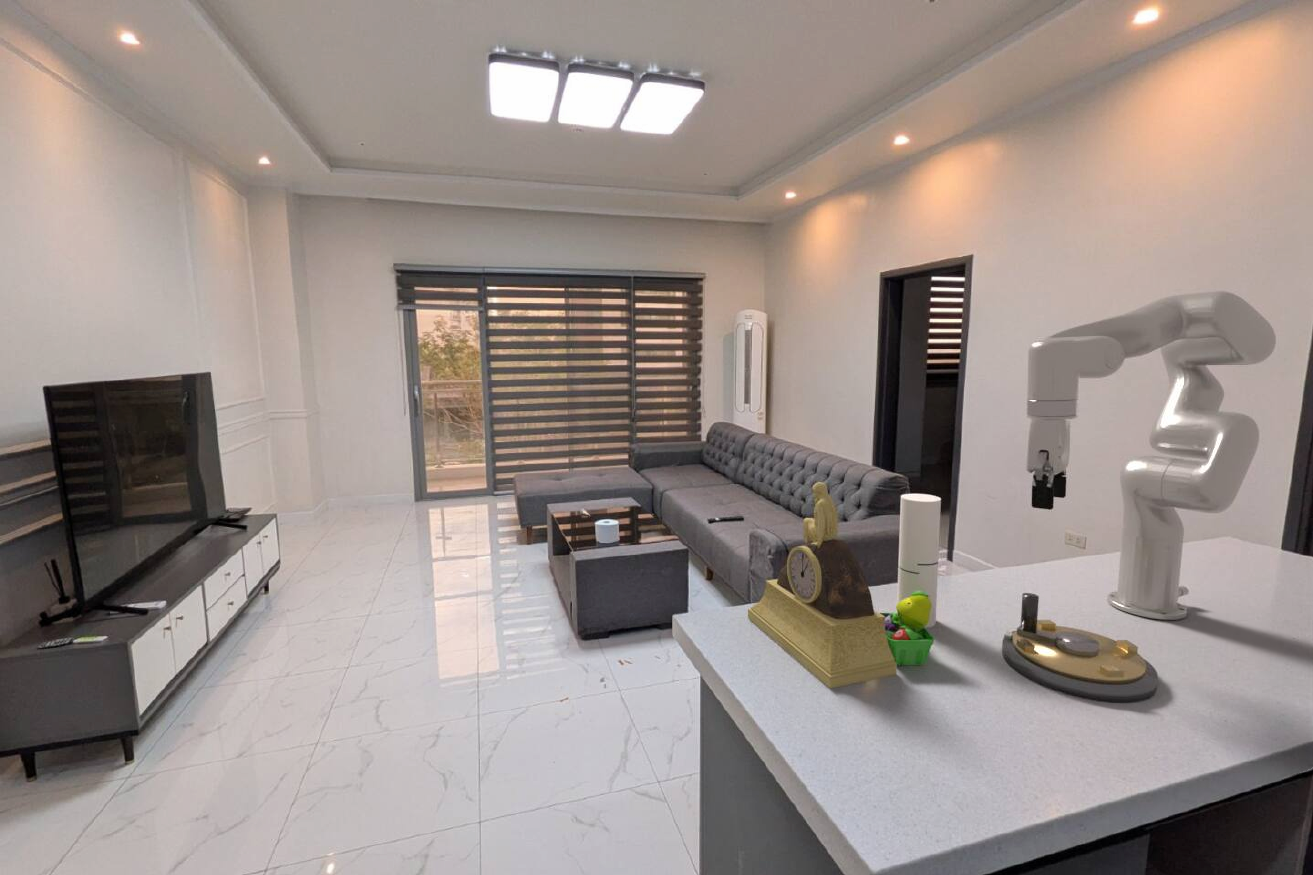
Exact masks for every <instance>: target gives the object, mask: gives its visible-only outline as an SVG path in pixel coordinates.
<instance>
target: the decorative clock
mask: <svg viewBox="0 0 1313 875" xmlns="http://www.w3.org/2000/svg"><path fill="white" fill-rule="evenodd" d="M811 489H812V490H813V496H814V498H815V499H814V508H813V509H814V510H813V517H805V518H804V519H803V521H802V522H803V523H802V531H803V539H804V541H805V542H804V543H803V544H802V545H799V546H794V547H792V548H791V549H790V551H789V553H788V556H787V560H786V564H785V565H784V566H783V567H782V568H781V570H780V572H779V575H778V578H776V579H769V580H765V590H764V593H763V596H762V598H760V600H759V602H757V603H756V604H754V605H753V606H751V607H750V608H748V609H747V618H748V619H749V621H751V622H752V623H753V624H754V625H756V626H757V627H758V628H759V629H760V630H761V631H762V632H764V633H765V634H766V635H767V636H768V637H769V638H770V639H772V640H773V641H774V642H775V641H776V642H777V644H778V646H780V647H781V648H782V649H783V650H784V651H786V652H787V653H788V654H790V655H791V656H792V658H794V659H795V660H796V661H797V662H798V663H799V664H801V665H802V667H804V668H805V669H807V670H808V671H809V672H810V673H811V674H812V675H813V676H815V677H816V678H817V679H818V680H819V681H820V682H822V683H823V684H824V685H825V686H826V687H827V688H829V689H834V688H837V687H843V686H848V685H853V684H856V683H862V682H867V681H871V680H876V679H879V678H884V677H890V676H894V675H897V668H898V667H897V666H898V665H897V663H896V662H894V657H893V655H892V652H891V650H890V648H889V645H888V641H887V638H886V632H885V616H883V615H882V614H880V613H881V612H878V611H876V610H875V609H874V605H873V604H874V603H873V598H872V594H871V591H870V587H869V585H868V582H867V579H866V576H865V575H864V574H865V573H864V571H863V569H862V567H861V566H860V564H859V562H858V561H857V559H856V556H855V555H854V552H853V550H852V548H851V547H850V545H849V544H848V543H846V542H844V541H843V540H840V539H838V531H839V530H838V529H839V516H838V512H837V507H836V504H835V502H834V501H833V499H832V498H831V496H830V495H829V491H828V486H827V484H826V483H825V482H823V481H818V482H815V484H814V485H812V488H811ZM776 642H775V643H776ZM852 683H853V684H852Z"/></svg>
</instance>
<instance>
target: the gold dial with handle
mask: <svg viewBox="0 0 1313 875" xmlns="http://www.w3.org/2000/svg"><path fill="white" fill-rule="evenodd" d="M1039 598H1040V596H1039V595H1037V594H1035V593H1031V592H1030V593H1029V592H1024V593H1022V597H1021V610H1020V611H1021V613H1020V614H1021V615H1020V625H1019V626H1018V627H1017V628H1016V630H1014V631H1015V632H1014V634H1013V647H1014V649H1015V650H1016V652H1017V653H1018V654H1019V655H1021V656H1022V657H1023V658H1025V659H1026V660H1028V661H1029V662H1031V663H1033V664H1035V665H1037V666H1039V667H1041V668H1043V669H1046V670H1048V671H1051V672H1053V673H1056V674H1059V675H1062V676H1066V677H1069V678H1073V679H1077V680H1082V681H1087V682H1093V683H1100V684H1129V683H1134V682H1137V681H1140V680H1141V679H1143V677H1144V676H1145V673H1146V662H1145V661H1144V659H1145V658H1143V656H1141V655H1140V654H1139V653H1138V650H1139V646H1138V645H1136V644H1135V643H1133V642H1131V641H1129V640H1128V639H1116V640H1114V639H1113V638H1109V637H1107V636H1104V635H1101V634H1098V633H1095V632H1091V631H1087V630H1082V629H1078V628H1074V627H1069V626H1068V627H1067V626H1061V625H1057V624H1056V623H1055V622H1054V621H1052V619H1038V615H1039V614H1038V613H1039V602H1040V601H1039Z"/></svg>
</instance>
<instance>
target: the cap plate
mask: <svg viewBox="0 0 1313 875" xmlns="http://www.w3.org/2000/svg"><path fill="white" fill-rule="evenodd" d="M1015 631H1016V630H1014V631H1006V632H1005V634H1004V635H1003V639H1002V643H1001V644H1002V645H1001V655H1002V658H1003V660H1004V662H1005V663H1006V664H1007V665H1008V666H1009V667H1010V668H1011V669H1013V671H1015V672H1017V674H1019V675H1020V676H1022V677H1024V678H1025V679H1028V680H1029V681H1031V682H1032V683H1035V684H1038V685H1040V686H1042V687H1045V688H1046V689H1049V690H1053V691H1055V692H1058V693H1060V694H1065V695H1068V696H1071V697H1075V698H1080V699H1084V700H1090V701H1096V702H1102V703H1111V704H1112V703H1113V704H1114V703H1115V704H1130V703H1131V704H1134V703H1139V702H1144V701H1146V700H1149V699H1151V698H1152V697H1154V695H1156V693H1157V690H1158V680H1159V676H1158V672H1157V670H1156V668H1155V667H1154V666H1153V665H1152V663H1150V662H1149V661H1148V660H1146V659H1145V658H1143V659H1144V661H1145V662H1146V673H1145V676H1144V677H1143V679H1141V680H1140V681H1137V682H1134V683H1129V684H1100V683H1093V682H1087V681H1082V680H1077V679H1073V678H1069V677H1066V676H1062V675H1059V674H1056V673H1053V672H1051V671H1048V670H1046V669H1043V668H1041V667H1039V666H1037V665H1035V664H1033V663H1031V662H1029V661H1028V660H1026V659H1025V658H1023V657H1022V656H1021V655H1019V654H1018V653H1017V652H1016V650H1015V649H1014V647H1013V634H1014V632H1015Z"/></svg>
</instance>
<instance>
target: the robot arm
mask: <svg viewBox="0 0 1313 875" xmlns="http://www.w3.org/2000/svg"><path fill="white" fill-rule="evenodd" d="M1276 338H1277V337H1276V333H1275V330H1274V328H1273V326H1272V325H1271V323H1270V322H1269V321H1268V320H1267V319H1266V318H1265V317H1264V316H1263V315H1262V314H1261V313H1260V312H1258V311H1257V310H1256V309H1255V307H1253V306H1252V304H1250V303H1249V302H1247V301H1246V300H1245V299H1244V298H1242V297H1240V296H1238V295H1237V294H1235V293H1233V292H1229V291H1222V290H1221V291H1220V290H1219V291H1218V290H1217V291H1207V292H1198V293H1188V294H1187V293H1186V294H1178V295H1171V296H1166V297H1162V298H1160V299H1157V300H1155V301H1153V302H1149V303H1148V304H1146V305H1143V306H1141V307H1138V308H1135V309H1134V310H1130V311H1128V312H1126V313H1124V314H1120V315H1117V316H1116V315H1115V316H1111V317H1108V318H1104V319H1101V320H1096V321H1093V322H1091V323H1086V324H1082V325H1078V326H1075V327H1069V328H1067V329H1064V330H1062V331H1059V332H1056V333H1053V334H1052V335H1049V336H1047V337H1045V338H1043V339H1042V340H1038V341H1034V342H1033V343H1031V344H1030V345H1029V348H1028V352H1027V353H1028V355H1027V356H1028V357H1027V394H1026V395H1027V396H1026V397H1027V400H1026V418H1027V419H1031V421H1030V424H1029V432H1028V440H1027V442H1028V443H1027V452H1026V453H1027V454H1026V471H1027V473H1029V474H1031V473H1033V472H1034V473H1033V475H1032V483H1031V507H1032V508H1034V509H1040V510H1041V509H1043V510H1053V509H1054V504H1055V503H1054V500H1055V499H1054V498H1060V499H1064V498H1066V496H1067V476H1066V475H1067V469H1066V468H1067V467H1068V466H1069V461H1070V452H1071V420H1073V419H1077V418H1078V405H1079V402H1078V401H1079V379H1102V378H1106V377H1109V376H1112V375H1113V374H1115V373H1116V372H1118V371H1119V370H1120V368H1121V367H1122V366H1123V365H1124V364H1123V363H1124V362H1125V359H1130V358H1136V357H1142V356H1144V355H1148V354H1150V353H1152V352H1154V351H1156V350H1159V349H1160V354H1161V356H1162V359H1163V360H1162V361H1163V364H1164V366H1165V370H1166V373H1167V378H1168V381H1169V386H1168V391H1167V394H1166V396H1165V399H1164V400H1163V403H1162V405H1161V408H1160V409H1159V412H1158V414H1157V416H1156V418H1155V420H1154V422H1153V425H1152V428H1151V430H1150V433H1149V436H1148V439H1149V440H1148V442H1149V445H1150V446H1151V448H1152V450H1155V452H1158V453H1161V454H1163V455H1168V456H1175V457H1168V456H1159V455H1141V456H1135V457H1133V458H1130V459H1129V460H1128V461H1126V462H1125V464H1124V465H1123V466H1122V467H1121V469H1120V470H1121V471H1120V478H1119V480H1120V489H1121V495H1122V503H1123V504H1122V505H1123V506H1122V507H1123V516H1122V517H1123V518H1122V532H1121V541H1120V552H1119V553H1120V554H1119V555H1120V556H1119V557H1120V558H1119V566H1118V567H1119V569H1118V578H1117V580H1118V581H1117V582H1118V583H1117V591H1113V592H1110V593H1108V594H1107V599H1106V600H1107V602H1108V604H1109V605H1111V606H1112V607H1114V608H1116V609H1118V610H1120V611H1123V612H1125V613H1129V614H1132V615H1136V616H1138V617H1143V618H1149V619H1155V620H1161V621H1163V620H1164V621H1165V620H1167V621H1175V620H1176V621H1177V620H1182V619H1185V618H1186V617H1187V615H1188V611H1187V608H1186V607H1185V606H1184V605H1183V604H1180V603H1179V602H1178V600H1179V598H1180V597H1183V596H1188V594H1189V591H1190V590H1189V589H1188V588H1187V587H1186V586H1183V585H1181V586H1180V577H1181V566H1182V557H1183V544H1184V537H1185V536H1184V534H1185V529H1184V524H1183V520H1182V519H1181V517H1180V515H1179V514H1178V512H1177V510H1176V509H1182V510H1186V511H1187V510H1188V511H1194V512H1200V513H1205V514H1220V513H1222V512H1224V511H1226V510H1228V509H1229V508H1230V507H1231V506H1232V504H1233V503H1234V501H1235V500H1236V498H1237V496H1238V493H1239V492H1240V489H1241V487H1242V484H1243V482H1244V480H1245V478H1246V475H1247V473H1248V471H1249V469H1250V466H1251V464H1252V461H1253V459H1254V457H1255V455H1256V452H1257V449H1258V446H1259V443H1260V442H1259V441H1260V431H1259V427H1258V424H1257V423H1256V422H1257V421H1255V419H1254V418H1252V417H1250V416H1249V415H1247V414H1245V413H1240V412H1239V413H1238V412H1234V411H1220V407H1221V405H1222V403H1223V401H1224V399H1225V398H1224V397H1225V391H1224V387H1223V386H1222V384H1221V383H1220V381H1219V380H1218V378H1216V376H1215V375H1214V374H1213V373H1212V372H1211V371H1210V369H1209V368H1208V367H1207V366H1248V365H1249V366H1250V365H1255V364H1256V365H1257V364H1259V363H1261V362H1263V361H1265V360H1267V359H1268V358H1269V357H1270V356H1271V355H1272V354H1273V353H1274V350H1275V348H1276V343H1277V339H1276ZM1176 457H1181V458H1176ZM1182 457H1183V458H1182ZM1184 458H1190V459H1199V460H1206V461H1199V460H1190V459H1184ZM1175 508H1176V509H1175Z"/></svg>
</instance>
